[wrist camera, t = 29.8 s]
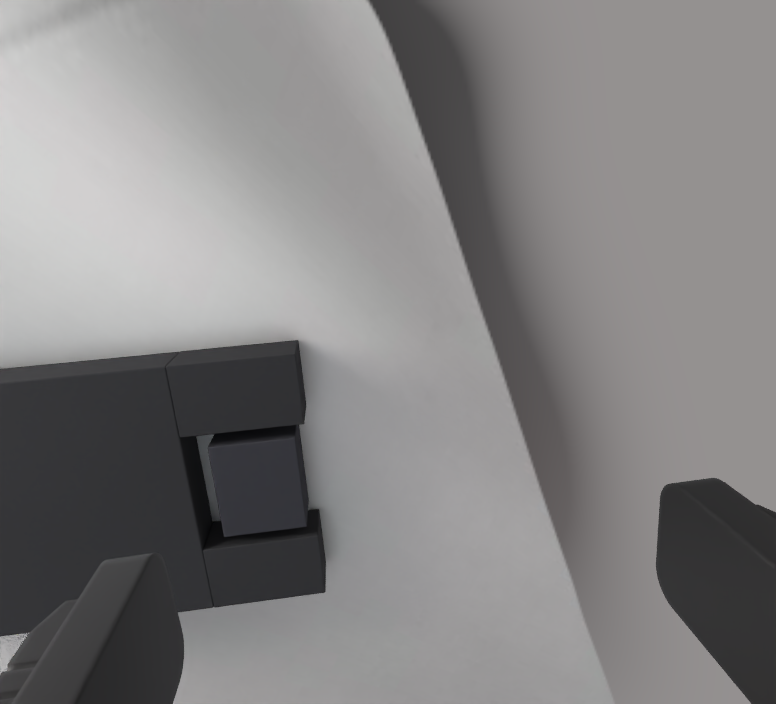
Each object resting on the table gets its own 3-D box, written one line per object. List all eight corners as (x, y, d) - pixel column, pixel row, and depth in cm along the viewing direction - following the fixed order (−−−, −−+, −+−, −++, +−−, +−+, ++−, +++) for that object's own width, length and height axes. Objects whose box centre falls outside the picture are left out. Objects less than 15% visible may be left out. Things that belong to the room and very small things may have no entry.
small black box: (297, 417, 34) (295, 438, 31) (308, 500, 35) (307, 527, 33) (217, 426, 33) (207, 447, 30) (232, 509, 35) (224, 537, 32)
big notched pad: (298, 339, 32) (295, 353, 29) (325, 562, 37) (325, 592, 34) (-126, 380, 30) (-173, 400, 28) (-41, 610, 35) (-74, 647, 32)
